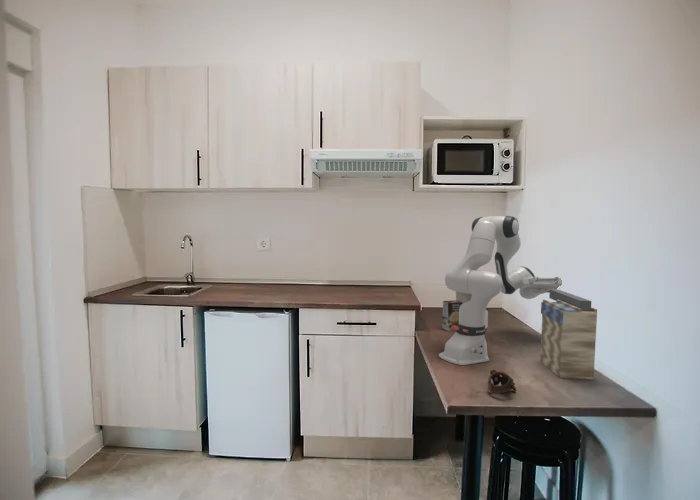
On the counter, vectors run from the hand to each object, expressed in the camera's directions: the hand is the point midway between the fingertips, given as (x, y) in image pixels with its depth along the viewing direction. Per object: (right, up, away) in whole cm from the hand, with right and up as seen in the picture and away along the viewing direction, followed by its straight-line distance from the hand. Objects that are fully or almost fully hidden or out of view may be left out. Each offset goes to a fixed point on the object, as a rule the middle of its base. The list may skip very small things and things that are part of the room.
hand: (547, 278), depth 173 cm
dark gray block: (-2, -9, -20) cm, 22 cm away
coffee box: (-36, -32, +33) cm, 59 cm away
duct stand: (-6, -36, -24) cm, 43 cm away
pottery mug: (-41, -37, -45) cm, 71 cm away
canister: (-16, -30, +68) cm, 76 cm away
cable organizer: (-23, -32, +39) cm, 55 cm away
